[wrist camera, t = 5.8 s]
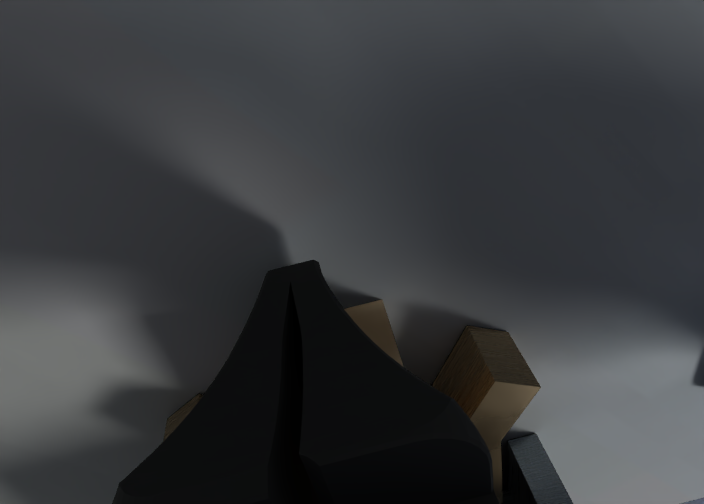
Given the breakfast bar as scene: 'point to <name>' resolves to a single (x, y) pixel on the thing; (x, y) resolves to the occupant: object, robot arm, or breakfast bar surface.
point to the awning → (488, 412)
